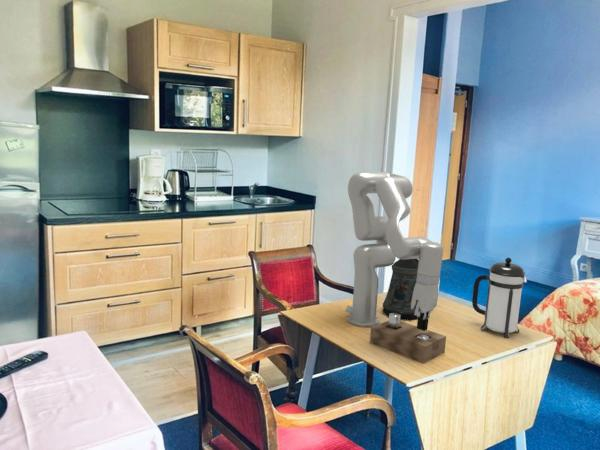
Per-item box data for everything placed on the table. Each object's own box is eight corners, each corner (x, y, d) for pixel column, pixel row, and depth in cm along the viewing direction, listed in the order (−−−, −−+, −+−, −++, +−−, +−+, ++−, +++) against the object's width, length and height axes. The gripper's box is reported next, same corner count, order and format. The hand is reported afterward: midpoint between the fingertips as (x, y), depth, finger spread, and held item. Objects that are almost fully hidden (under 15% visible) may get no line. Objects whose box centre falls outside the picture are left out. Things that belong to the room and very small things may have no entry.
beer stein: (379, 317, 212) (384, 258, 208) (385, 303, 230) (390, 249, 226) (420, 323, 208) (425, 263, 203) (423, 308, 226) (428, 253, 222)
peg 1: (385, 329, 185) (387, 314, 184) (392, 326, 188) (393, 312, 187) (395, 332, 182) (396, 317, 181) (401, 329, 185) (402, 315, 184)
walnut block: (369, 343, 184) (371, 327, 183) (391, 333, 194) (393, 318, 193) (423, 363, 169) (425, 346, 168) (444, 352, 179) (446, 336, 178)
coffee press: (512, 325, 210) (521, 254, 205) (525, 340, 194) (535, 263, 189) (469, 321, 212) (477, 251, 207) (478, 336, 196) (487, 260, 191)
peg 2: (413, 351, 178) (414, 336, 177) (419, 348, 181) (421, 333, 180) (423, 355, 175) (425, 339, 174) (429, 352, 178) (431, 337, 177)
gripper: (429, 272, 181) (423, 320, 185) (406, 279, 171) (400, 330, 174) (448, 277, 176) (442, 327, 180) (426, 285, 166) (419, 338, 169)
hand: (421, 329), depth 177 cm, fingers closed
